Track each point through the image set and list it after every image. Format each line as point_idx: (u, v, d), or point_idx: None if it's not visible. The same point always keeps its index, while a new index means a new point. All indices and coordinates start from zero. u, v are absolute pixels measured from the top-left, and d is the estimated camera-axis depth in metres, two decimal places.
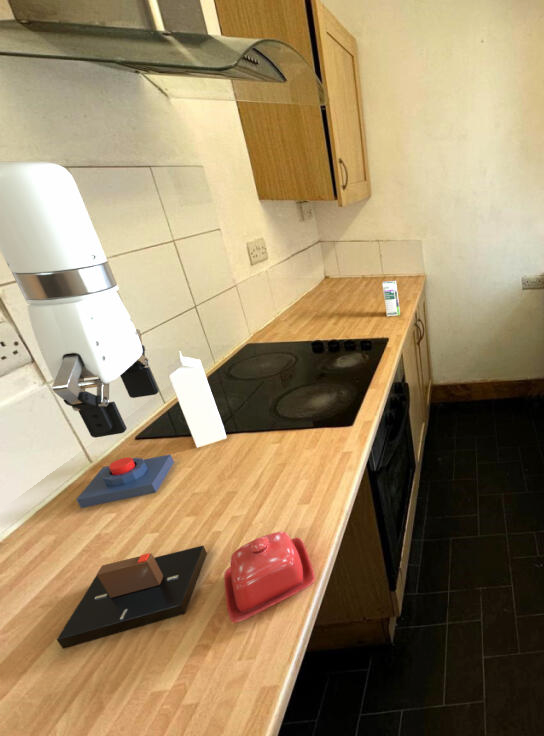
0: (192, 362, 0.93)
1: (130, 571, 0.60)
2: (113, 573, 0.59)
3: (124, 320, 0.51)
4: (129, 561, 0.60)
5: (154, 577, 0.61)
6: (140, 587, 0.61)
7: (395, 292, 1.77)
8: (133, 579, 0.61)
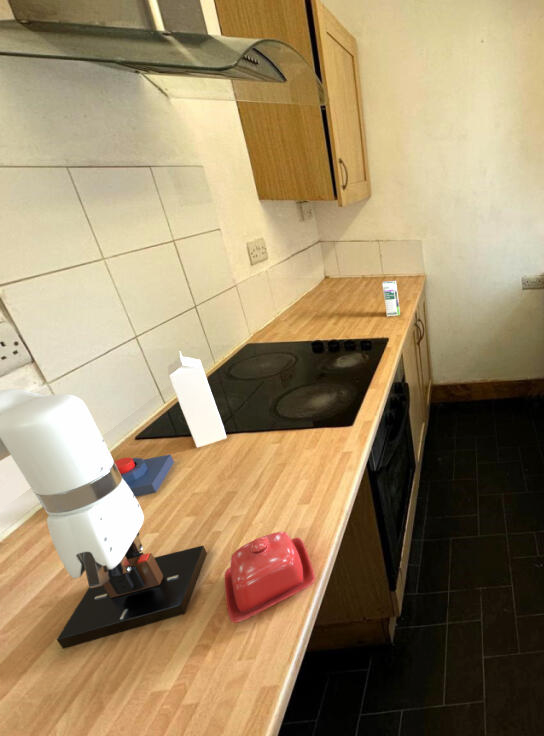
0: (192, 362, 0.93)
1: None
2: None
3: (128, 501, 0.59)
4: (129, 561, 0.60)
5: (154, 577, 0.61)
6: None
7: (395, 292, 1.77)
8: None
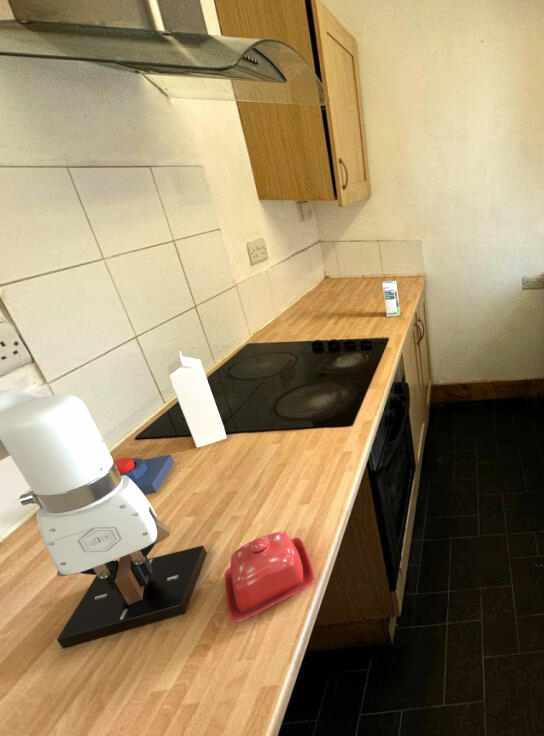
0: (192, 362, 0.93)
1: None
2: None
3: None
4: (123, 561, 0.60)
5: None
6: None
7: (395, 292, 1.77)
8: None
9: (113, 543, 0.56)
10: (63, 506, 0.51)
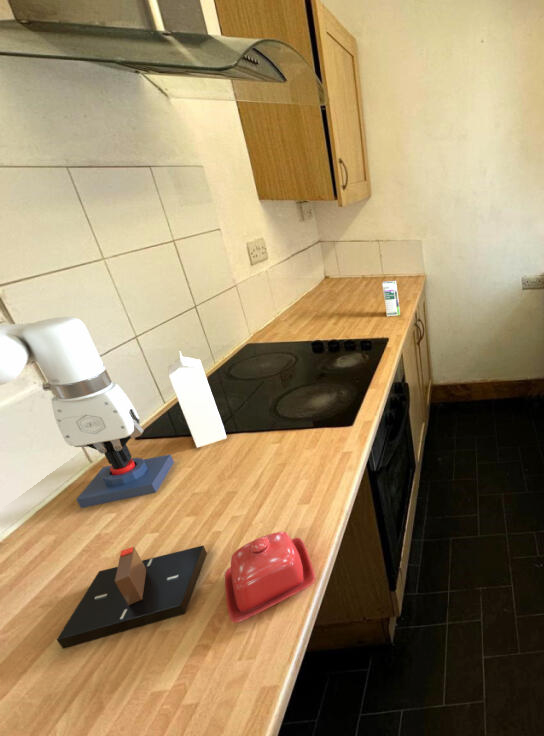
0: (192, 362, 0.93)
1: (135, 562, 0.61)
2: (132, 569, 0.60)
3: None
4: (123, 561, 0.60)
5: (142, 562, 0.64)
6: (143, 577, 0.63)
7: (395, 292, 1.77)
8: (139, 571, 0.62)
9: (100, 429, 0.77)
10: (63, 394, 0.73)
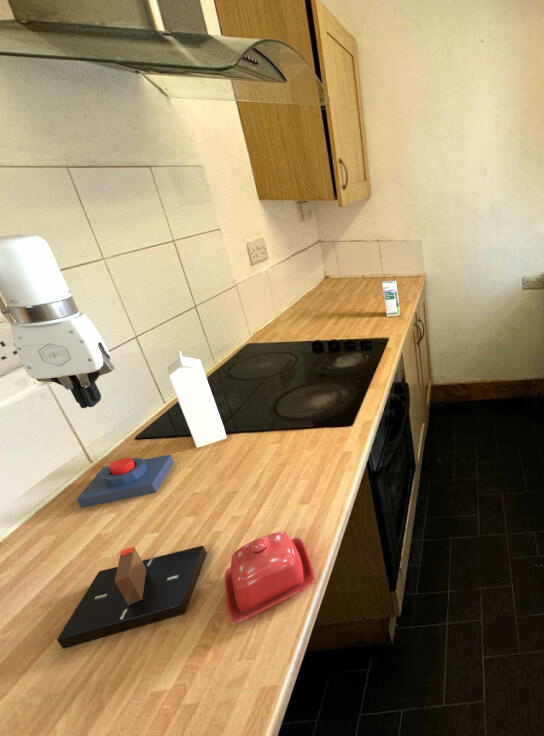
0: (192, 362, 0.93)
1: (135, 562, 0.61)
2: (132, 569, 0.60)
3: None
4: (123, 561, 0.60)
5: (142, 562, 0.64)
6: (143, 577, 0.63)
7: (395, 292, 1.77)
8: (139, 571, 0.62)
9: (65, 361, 0.72)
10: (23, 318, 0.67)
